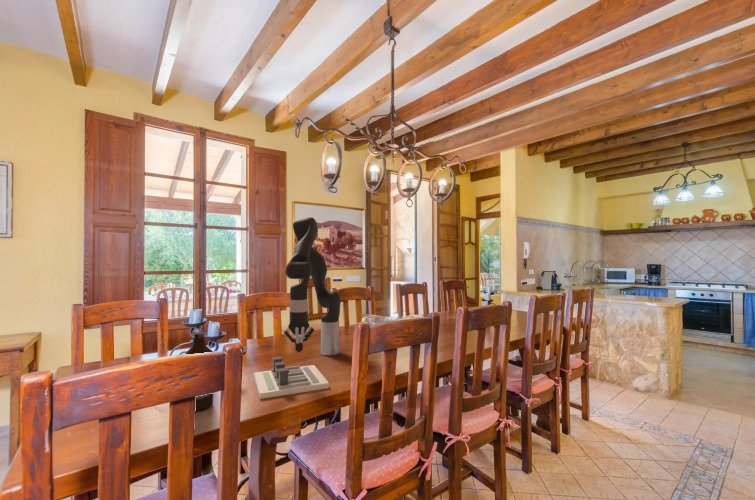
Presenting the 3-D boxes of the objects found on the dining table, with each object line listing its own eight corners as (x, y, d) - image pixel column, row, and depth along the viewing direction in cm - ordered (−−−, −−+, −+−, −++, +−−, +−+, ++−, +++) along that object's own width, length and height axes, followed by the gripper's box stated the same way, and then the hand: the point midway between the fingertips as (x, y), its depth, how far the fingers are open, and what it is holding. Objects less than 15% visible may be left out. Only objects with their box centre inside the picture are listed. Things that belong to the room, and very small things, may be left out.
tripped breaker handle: (283, 375, 139) (283, 361, 139) (285, 378, 136) (285, 364, 136) (274, 376, 138) (274, 362, 138) (275, 379, 134) (276, 365, 135)
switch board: (313, 369, 155) (314, 351, 155) (328, 388, 133) (329, 366, 133) (253, 377, 144) (254, 357, 144) (259, 399, 122) (259, 376, 122)
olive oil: (178, 404, 117) (180, 332, 118) (212, 397, 123) (213, 328, 124) (180, 416, 108) (182, 338, 109) (216, 408, 114) (218, 334, 115)
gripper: (312, 307, 146) (312, 347, 146) (281, 309, 141) (281, 351, 141) (316, 310, 140) (316, 352, 139) (284, 312, 134) (284, 356, 134)
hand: (298, 351), depth 140 cm, fingers closed
